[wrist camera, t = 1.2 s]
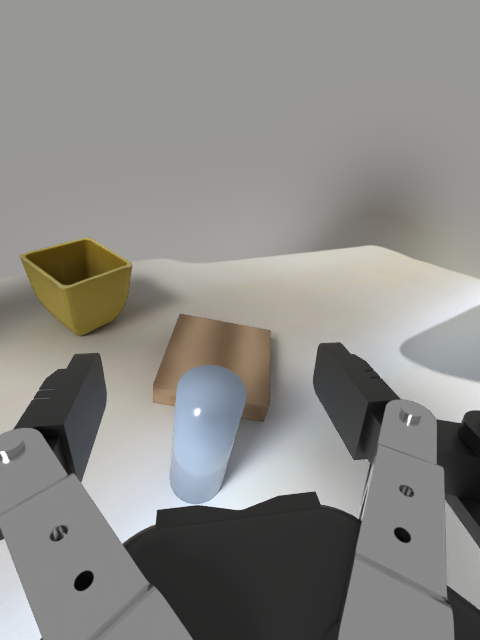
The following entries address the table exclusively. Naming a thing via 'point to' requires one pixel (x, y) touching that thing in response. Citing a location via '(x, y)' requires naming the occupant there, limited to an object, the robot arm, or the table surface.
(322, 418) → the table surface
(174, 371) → the stand
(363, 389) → the robot arm
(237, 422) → the pale blue tumbler
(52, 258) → the flower pot
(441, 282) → the table surface
